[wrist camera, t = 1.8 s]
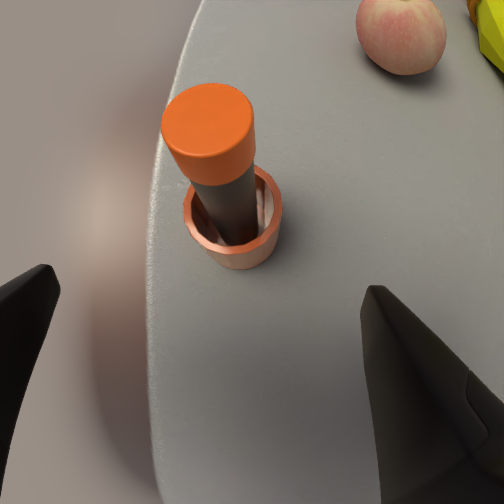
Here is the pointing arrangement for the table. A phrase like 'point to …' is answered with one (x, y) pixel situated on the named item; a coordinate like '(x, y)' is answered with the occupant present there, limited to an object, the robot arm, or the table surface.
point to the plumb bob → (489, 28)
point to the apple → (401, 34)
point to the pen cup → (241, 254)
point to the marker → (217, 155)
